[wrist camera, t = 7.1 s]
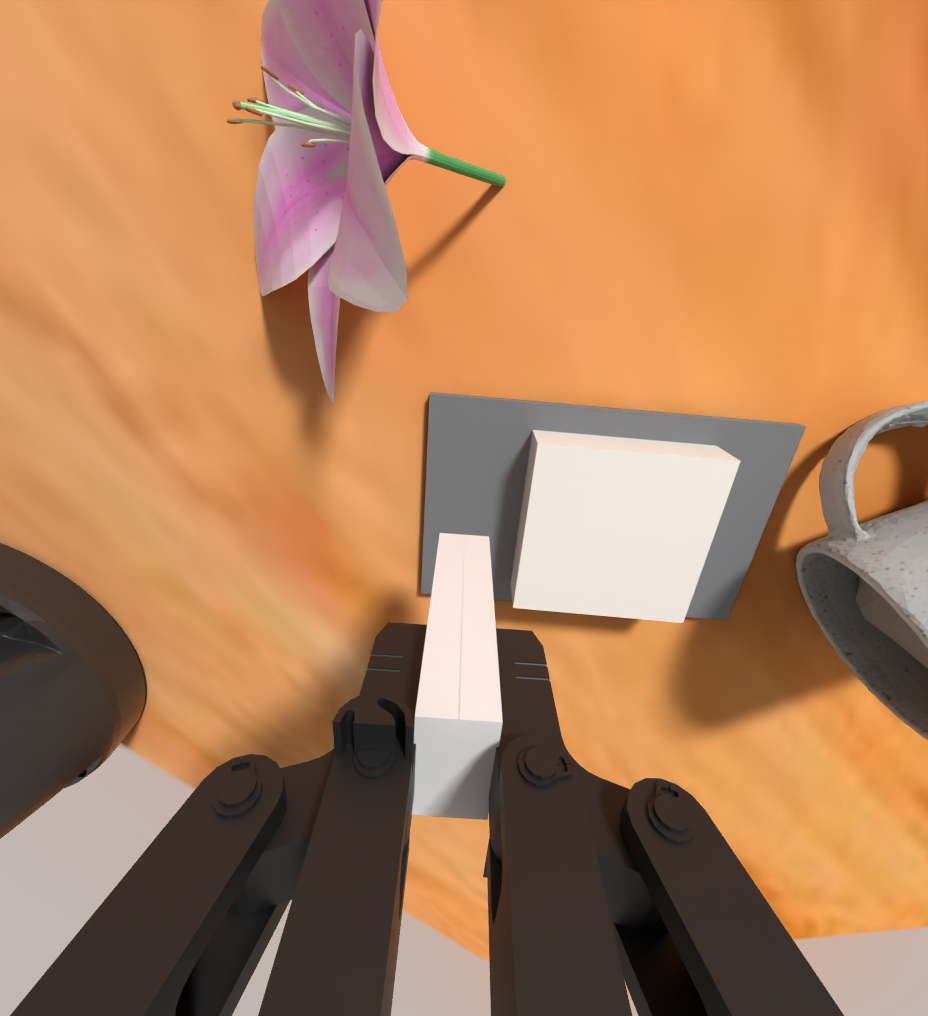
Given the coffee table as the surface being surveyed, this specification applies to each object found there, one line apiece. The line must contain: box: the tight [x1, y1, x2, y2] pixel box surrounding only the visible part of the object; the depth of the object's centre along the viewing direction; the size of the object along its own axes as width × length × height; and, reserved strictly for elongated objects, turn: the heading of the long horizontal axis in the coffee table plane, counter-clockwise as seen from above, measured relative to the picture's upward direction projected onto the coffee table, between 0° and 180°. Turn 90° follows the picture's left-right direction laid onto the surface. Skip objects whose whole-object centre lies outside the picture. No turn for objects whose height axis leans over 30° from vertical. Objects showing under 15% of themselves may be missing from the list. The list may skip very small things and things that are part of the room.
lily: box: [226, 0, 505, 404], centre depth 11 cm, size 12×12×10 cm
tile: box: [511, 430, 741, 623], centre depth 18 cm, size 2×7×7 cm
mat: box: [421, 392, 806, 620], centre depth 19 cm, size 14×9×1 cm, turn 85°
